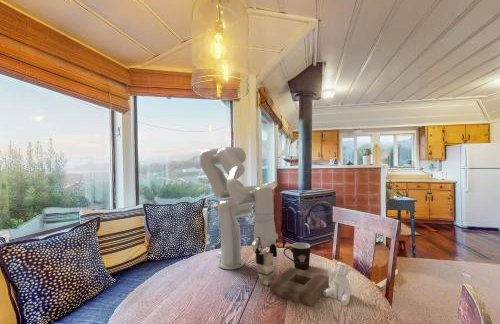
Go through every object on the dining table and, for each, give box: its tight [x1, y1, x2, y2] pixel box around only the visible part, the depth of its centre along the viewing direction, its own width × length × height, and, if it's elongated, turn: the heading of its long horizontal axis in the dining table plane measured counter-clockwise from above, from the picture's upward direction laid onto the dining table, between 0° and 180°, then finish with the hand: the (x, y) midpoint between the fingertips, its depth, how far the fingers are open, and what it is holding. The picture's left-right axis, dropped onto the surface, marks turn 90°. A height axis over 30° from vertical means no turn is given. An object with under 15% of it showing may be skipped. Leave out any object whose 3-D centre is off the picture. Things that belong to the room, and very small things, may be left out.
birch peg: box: [257, 250, 275, 286], centre depth 99 cm, size 4×4×12 cm
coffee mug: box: [283, 242, 311, 271], centre depth 114 cm, size 12×9×10 cm
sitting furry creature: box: [322, 261, 352, 307], centre depth 87 cm, size 10×9×12 cm
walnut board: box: [270, 266, 330, 308], centre depth 93 cm, size 16×16×4 cm
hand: (266, 260), depth 99 cm, fingers open, 9 cm apart
